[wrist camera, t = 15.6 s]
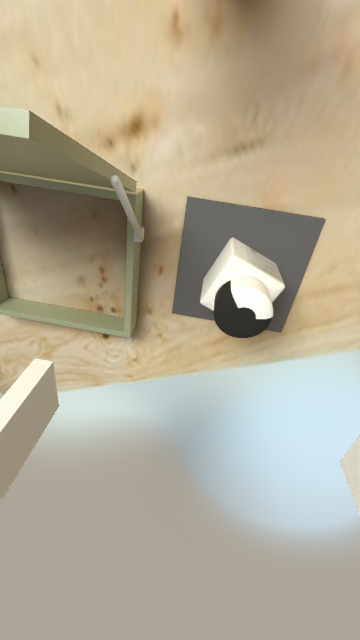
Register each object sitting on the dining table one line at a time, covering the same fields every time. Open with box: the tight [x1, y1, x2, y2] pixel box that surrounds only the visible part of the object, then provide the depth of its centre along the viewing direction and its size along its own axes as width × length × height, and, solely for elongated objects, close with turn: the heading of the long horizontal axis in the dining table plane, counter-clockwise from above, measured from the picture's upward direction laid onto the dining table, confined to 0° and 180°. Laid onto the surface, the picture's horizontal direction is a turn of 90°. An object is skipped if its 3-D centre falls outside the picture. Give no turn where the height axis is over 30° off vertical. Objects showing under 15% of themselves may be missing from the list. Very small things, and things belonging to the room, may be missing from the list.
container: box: [200, 237, 285, 338], centre depth 37 cm, size 8×8×13 cm
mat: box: [172, 197, 325, 332], centre depth 43 cm, size 18×18×1 cm
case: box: [0, 170, 145, 338], centre depth 38 cm, size 25×25×15 cm
